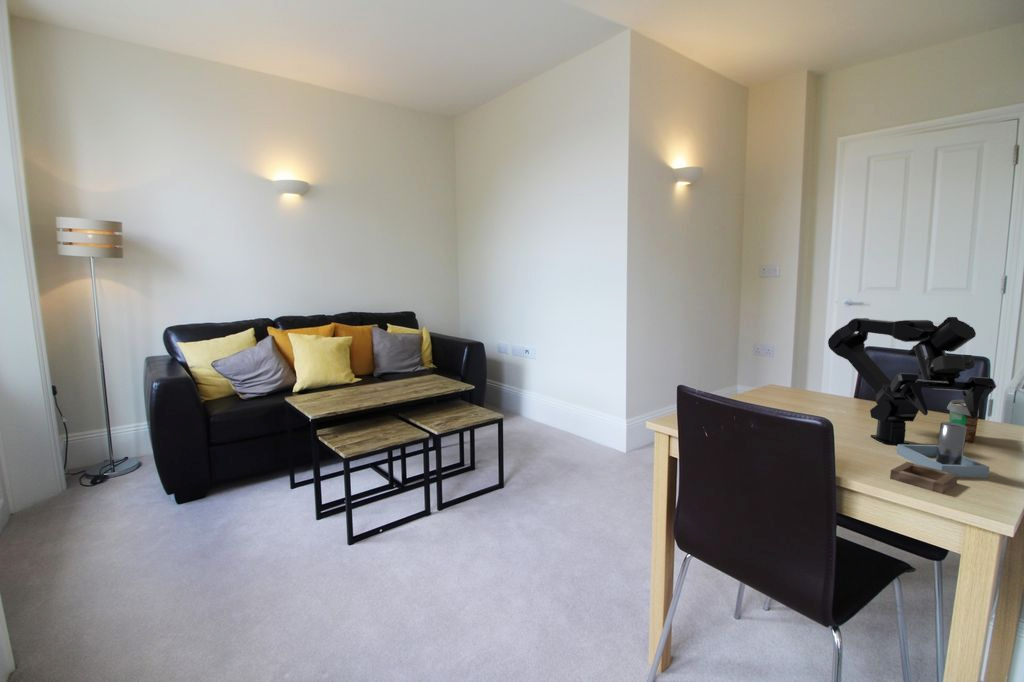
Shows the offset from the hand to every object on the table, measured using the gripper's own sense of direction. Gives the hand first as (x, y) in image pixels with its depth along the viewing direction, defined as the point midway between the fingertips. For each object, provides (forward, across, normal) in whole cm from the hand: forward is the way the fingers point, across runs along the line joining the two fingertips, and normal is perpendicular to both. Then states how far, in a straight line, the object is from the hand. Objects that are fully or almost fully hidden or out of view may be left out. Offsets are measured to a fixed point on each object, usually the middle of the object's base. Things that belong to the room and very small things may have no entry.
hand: (950, 416), depth 113 cm
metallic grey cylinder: (+10, 0, +8) cm, 13 cm away
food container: (-13, +16, +32) cm, 38 cm away
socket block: (+17, -8, +2) cm, 19 cm away
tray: (+8, 0, +11) cm, 14 cm away
